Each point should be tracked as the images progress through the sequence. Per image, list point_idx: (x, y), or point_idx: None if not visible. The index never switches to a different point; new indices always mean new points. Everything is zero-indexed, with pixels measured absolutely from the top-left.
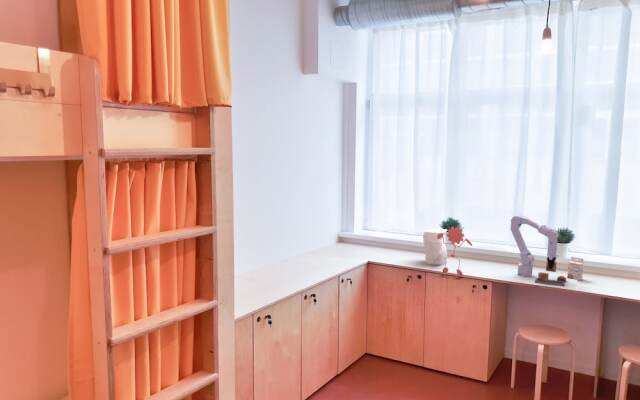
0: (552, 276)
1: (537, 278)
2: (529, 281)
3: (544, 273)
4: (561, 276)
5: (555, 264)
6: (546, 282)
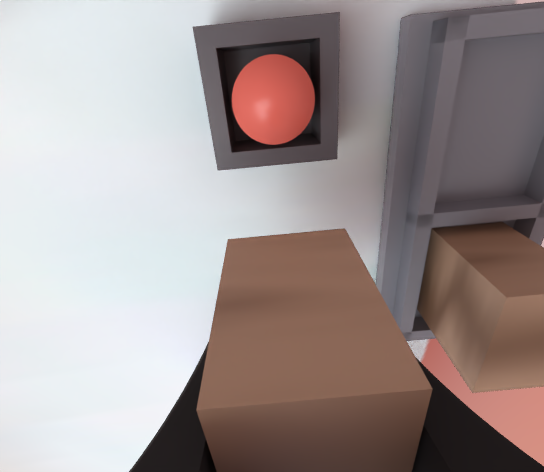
0: (44, 238)
1: (404, 332)
2: (415, 351)
3: (539, 336)
4: (288, 106)
5: (408, 365)
6: (538, 236)
